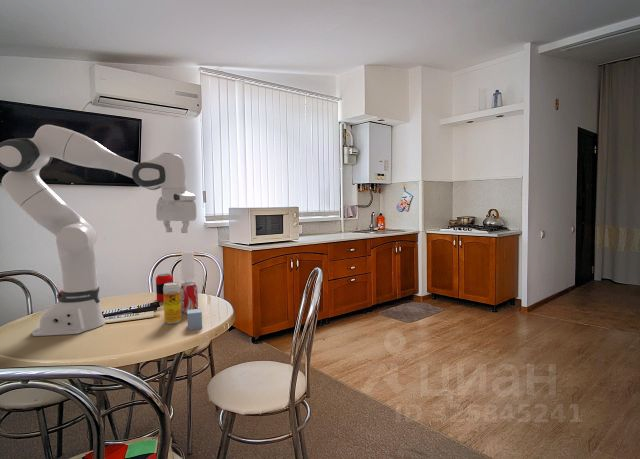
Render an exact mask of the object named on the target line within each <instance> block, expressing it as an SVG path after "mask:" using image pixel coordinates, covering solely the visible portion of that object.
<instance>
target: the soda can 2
mask: <svg viewBox="0 0 640 459" xmlns="http://www.w3.org/2000/svg"><path fill="white" fill-rule="evenodd" d="M198 292H199V291H198V286H197V283H196V282H194V281H193V282H187V283H185V282H182V283H181V285H180V297H181V313H183V314H187V310H192V309H199V293H198Z"/></svg>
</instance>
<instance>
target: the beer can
mask: <svg viewBox="0 0 640 459" xmlns="http://www.w3.org/2000/svg"><path fill="white" fill-rule="evenodd" d="M180 288H181V285H180V282H175V281H173V282H171V283H166V284H164V287H163V296H164V302H163V309H164V310H163V312H164V313H163V314H164V315H163V316H164V317H163V318H164V322H165V323H166V324H168V325H173V324H178V323H180V322H181V321H182V311H181V297H180Z"/></svg>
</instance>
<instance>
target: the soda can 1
mask: <svg viewBox="0 0 640 459" xmlns="http://www.w3.org/2000/svg"><path fill="white" fill-rule="evenodd" d="M171 282H174V276H173V275H172V274H171V273H159V274H158V275H157V276H156V278H155V292H156V301H157V302H163V303H164V296H163V287H164V284H166V283H171Z"/></svg>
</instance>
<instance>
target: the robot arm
mask: <svg viewBox="0 0 640 459" xmlns="http://www.w3.org/2000/svg"><path fill="white" fill-rule="evenodd" d="M53 158H54V159H58V160H61V161H63V162H67V163H69V164H72V165H75V166H81V167H85V168H92V169H101V170H107V171H110V172H111V171H112V172H113V173H117V174H120V175H121V176H125V177H128V178H131V179H132V180H133V181H134V183H135V184H136V185H138V186H140V187H141V188H144V189H146V190H150V191H157V190H159V189H160V188H161V190H160V191H161V196H160V197H159V198H158V200H157V203H156V220H157V221H160V222H161V221H162V222H163V226H164V228H165V232H166V233H172V232H173V227H171V222H182V227H181V228H180V232H181V234H187V233H188V232H189V230H188V228H189V225H190V222H192V221H196V219H197V205H196V202H195V201H196V195H195V194H194V193H191V192H189V191H187V186H186V182H185V181H186V168H185V161H184V159H183V158H182V156H180V155H179V154H175V153H171V152H162V153H160V155H158V156H156V157H154V158H151V159H149V160H146V161H142V162H135V161H133V160H131V159H128V158H125V157H122V156H120V155H118V154H116V153H115V152H112V151H111V150H109V149H107V147H105V146H103V145H102V144H101V143H99V142H98V141H96V140H94V139H92V138H90V137H88V136H87V135H85V134H82V133H80V132H77V131H74V130H73V129H69V128H66V127H61V126H58V125H53V124H44V125H41V126H39V128H37V130H36V131H35V134H34V136H33V137H31V138H28V137H21V138H13V139H12V138H9V139H7V140H4V141H1V142H0V168H2V169H4V170H6V171H8V172H6V173H5V174H4V176H3V177H2V179H1V185H2V187H3V188H4V190H5V192H6V193H7V194H8V195H9V196H10V198H11V199H12V200H13V201H14V202H15V203H16V204H17V205H18V206H19V207H20V208H21V209H22V210H23V211H24V212H25V213H27V215H29V217H30V218H31V219H33V220H34V221H35V222H36V223H37V224H39V225H40V226H41V227H43V229H44V228H45V229H46V230H47V231H48V232H49V233H51V234H53V235H54V237H56V238H55V241H56V242H55V243H56V248H57V252H58V253H57V254H58V259H59V263H60V267H61V275H62V278H61V279H62V287H63V288H62V289H61V290H60V291H59V292H58V293H57V295H56V299H57V302H56V303H55V304H53V305H52V306H51V307H49V308H47V309H46V311H45V312H44V313H42V315H41V317H40V320H39V325H38V326H36V327H35V328H34V329H33V330H32V332H31V335H32V336H33V337H43V336H45V337H46V336H60V335H62V336H63V335H77V334H81V333H84V332H87V331H89V330H93V329H97V328H99V327H101V326H103V325H104V324H105V323H106V321H105V318H104V315H103V312H102V309H101V290H100V286H99V281H98V267H97V261H96V255H95V250H94V249H95V248H94V247H95V246H94V245H95V244H96V242H97V239H98V235H97V234H98V233H97V231H96V229H95V228H94V226H93V225H92V224H90V223H89V222H88V221H87V220H85V219H84V217H83V216H81V215H80V214H79V213H78V212H76V211H75V210H74V209H73V208H72V207H70V205H68V204H67V203H66V202H65V201H64V200H63V199H62V198H61V197H60V196H59V195H58V194H57V193H56V192H54V191H53V190H52V188H51V187H50V186H49V185H48V184H47V183H46V182H44V180H43V179H42V178H41V176H40V174H43V173H45V170H46V169H47V167H48V166H49V165H50V164H51V162H52V161H53Z"/></svg>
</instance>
